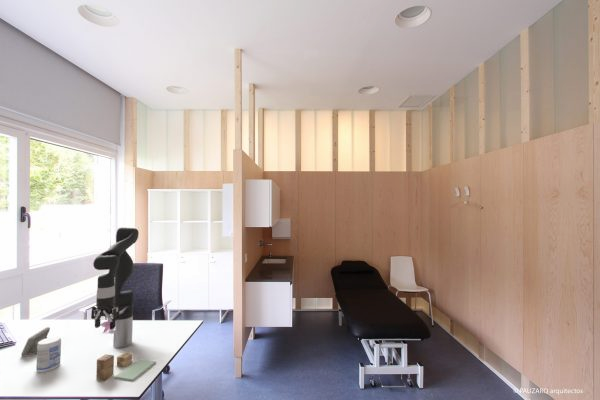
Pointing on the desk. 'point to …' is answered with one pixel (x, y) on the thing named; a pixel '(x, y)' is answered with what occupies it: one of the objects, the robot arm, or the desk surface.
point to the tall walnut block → (105, 367)
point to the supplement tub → (48, 354)
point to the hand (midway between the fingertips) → (104, 328)
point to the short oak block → (124, 359)
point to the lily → (107, 326)
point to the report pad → (135, 370)
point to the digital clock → (34, 342)
